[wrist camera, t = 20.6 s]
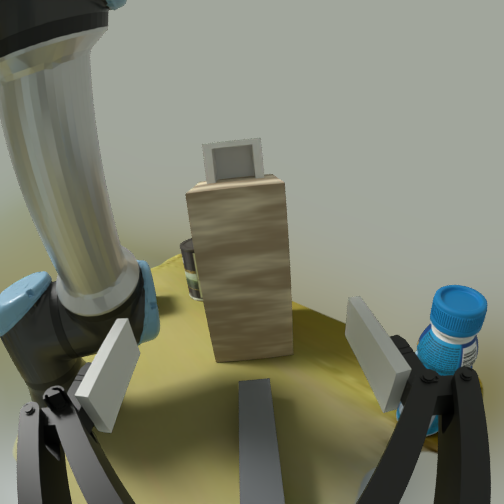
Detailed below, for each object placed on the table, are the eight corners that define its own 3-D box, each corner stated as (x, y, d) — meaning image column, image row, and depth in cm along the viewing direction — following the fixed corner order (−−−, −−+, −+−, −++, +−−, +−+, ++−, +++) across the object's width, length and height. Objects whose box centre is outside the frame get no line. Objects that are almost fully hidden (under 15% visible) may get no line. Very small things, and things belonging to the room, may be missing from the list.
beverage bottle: (390, 436, 30) (429, 316, 23) (397, 394, 37) (424, 278, 30) (445, 440, 26) (503, 320, 20) (446, 397, 33) (485, 282, 27)
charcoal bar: (242, 400, 42) (238, 381, 40) (271, 397, 42) (269, 378, 40) (246, 556, 17) (241, 551, 16) (289, 553, 17) (290, 547, 16)
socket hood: (210, 180, 56) (206, 145, 54) (261, 174, 56) (258, 139, 54) (206, 183, 50) (202, 144, 47) (264, 177, 50) (260, 137, 48)
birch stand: (220, 316, 66) (199, 181, 55) (281, 310, 66) (272, 173, 56) (216, 362, 50) (185, 193, 40) (293, 354, 51) (284, 182, 40)
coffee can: (183, 300, 74) (172, 249, 70) (198, 283, 84) (189, 236, 79) (220, 302, 72) (211, 248, 67) (232, 283, 81) (225, 234, 76)
